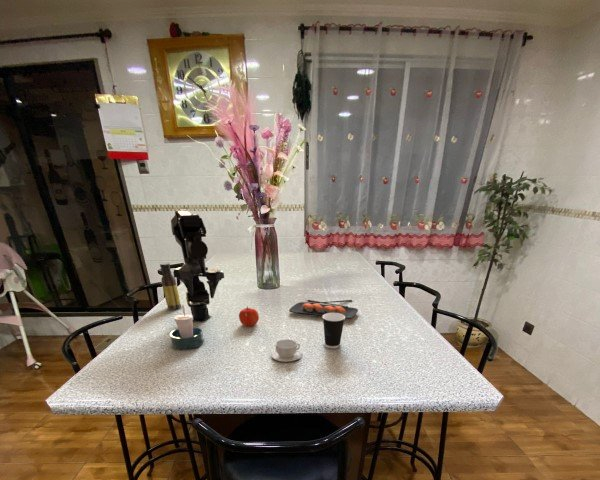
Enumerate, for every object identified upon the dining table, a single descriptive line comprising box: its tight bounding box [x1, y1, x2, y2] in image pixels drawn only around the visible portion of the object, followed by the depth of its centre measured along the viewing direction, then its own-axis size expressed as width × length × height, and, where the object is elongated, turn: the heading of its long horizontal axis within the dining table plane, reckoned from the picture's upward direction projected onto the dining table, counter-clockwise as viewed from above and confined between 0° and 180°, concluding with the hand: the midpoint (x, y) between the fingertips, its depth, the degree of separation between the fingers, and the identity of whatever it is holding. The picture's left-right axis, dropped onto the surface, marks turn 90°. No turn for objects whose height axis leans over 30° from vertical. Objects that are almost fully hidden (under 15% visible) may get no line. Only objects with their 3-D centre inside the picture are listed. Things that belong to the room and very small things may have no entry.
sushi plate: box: [289, 299, 359, 320], centre depth 164 cm, size 29×30×4 cm
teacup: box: [271, 338, 302, 363], centre depth 121 cm, size 10×10×5 cm
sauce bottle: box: [159, 262, 182, 311], centre depth 162 cm, size 6×6×20 cm
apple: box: [238, 306, 260, 328], centre depth 145 cm, size 8×8×8 cm
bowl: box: [169, 326, 205, 351], centre depth 130 cm, size 11×11×4 cm
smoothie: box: [173, 303, 194, 338], centre depth 128 cm, size 6×6×14 cm
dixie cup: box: [321, 313, 346, 350], centre depth 126 cm, size 8×8×11 cm
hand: (202, 297), depth 137 cm, fingers open, 9 cm apart
